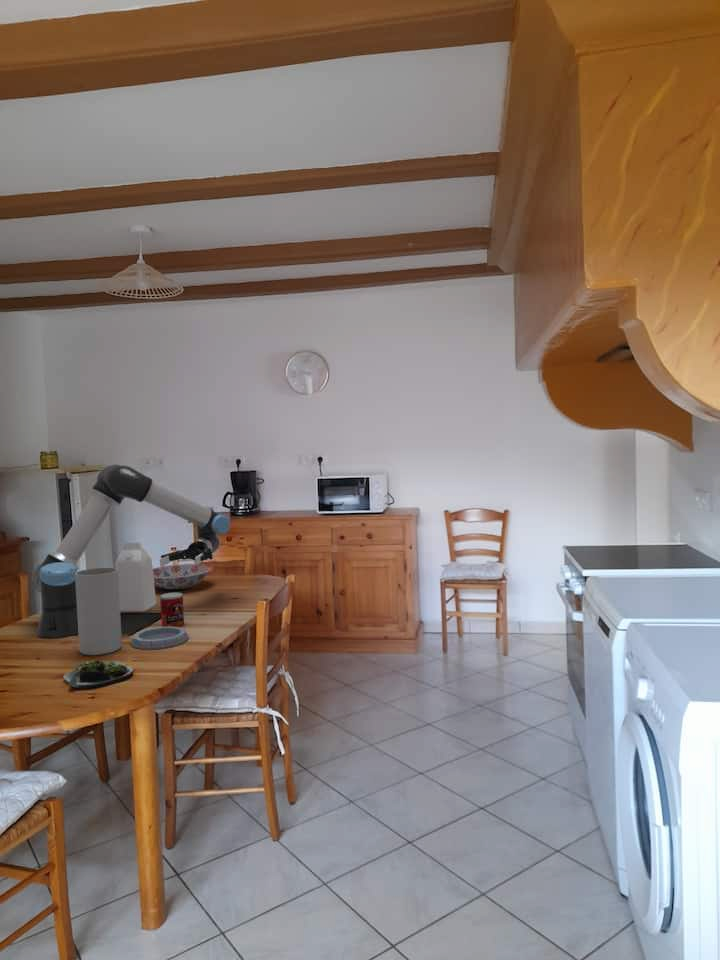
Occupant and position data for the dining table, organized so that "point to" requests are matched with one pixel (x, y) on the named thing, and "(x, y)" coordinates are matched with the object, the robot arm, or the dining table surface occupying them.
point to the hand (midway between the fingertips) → (178, 562)
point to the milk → (135, 578)
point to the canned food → (172, 610)
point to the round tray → (159, 638)
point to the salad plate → (97, 674)
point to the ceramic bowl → (179, 575)
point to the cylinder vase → (98, 611)
